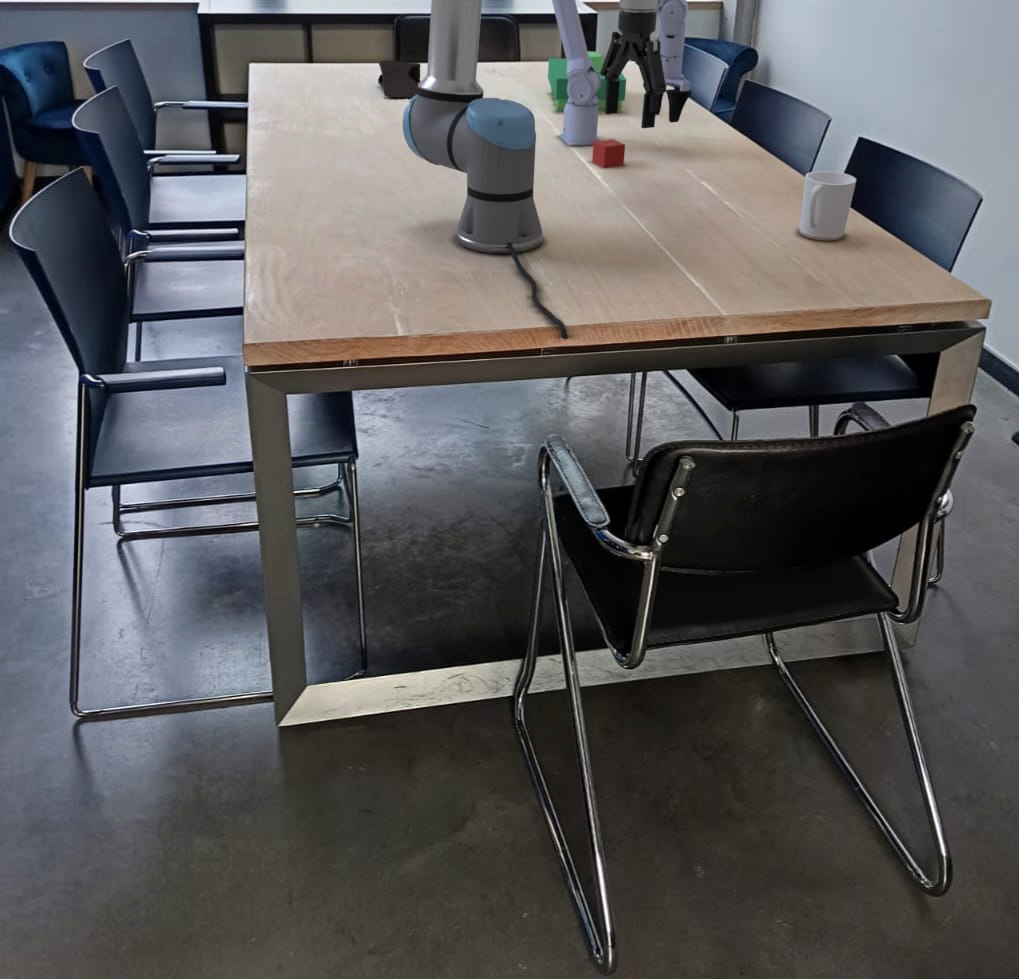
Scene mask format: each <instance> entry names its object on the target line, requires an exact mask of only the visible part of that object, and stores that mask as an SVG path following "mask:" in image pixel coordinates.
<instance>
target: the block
mask: <svg viewBox="0 0 1019 979" xmlns="http://www.w3.org/2000/svg"><path fill="white" fill-rule="evenodd" d="M625 154H626V144H625V143H622V142H621V141H618V140H616V139H614V138H612V139H602V140H600V141H594V142H593V145H592V159H591V162H592V163H593V164H595V165H597V166H600V167H602V168H604V169H605V168H613V167H620V166H624V165H625Z"/></svg>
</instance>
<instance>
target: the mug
mask: <svg viewBox="0 0 1019 979" xmlns="http://www.w3.org/2000/svg"><path fill="white" fill-rule="evenodd" d="M856 183H857V178H856V177H855V176H853V175H851V174H848V173H844V172H840V171H832V170H816V171H809V172H807V173H806V174H805V177H804V184H803V194H802V203H801V212H800V219H799V228H798V232H799V234H800V235H802V236H803V237H805V238H809V239H812V240H817V241H836V240H840V239H842V238H843V237H844V236H845V230H846V227H847V221H848V217H849V215H850V214H849V213H850V209H851V205H852V201H853V196H854V193H855V189H856Z"/></svg>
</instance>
